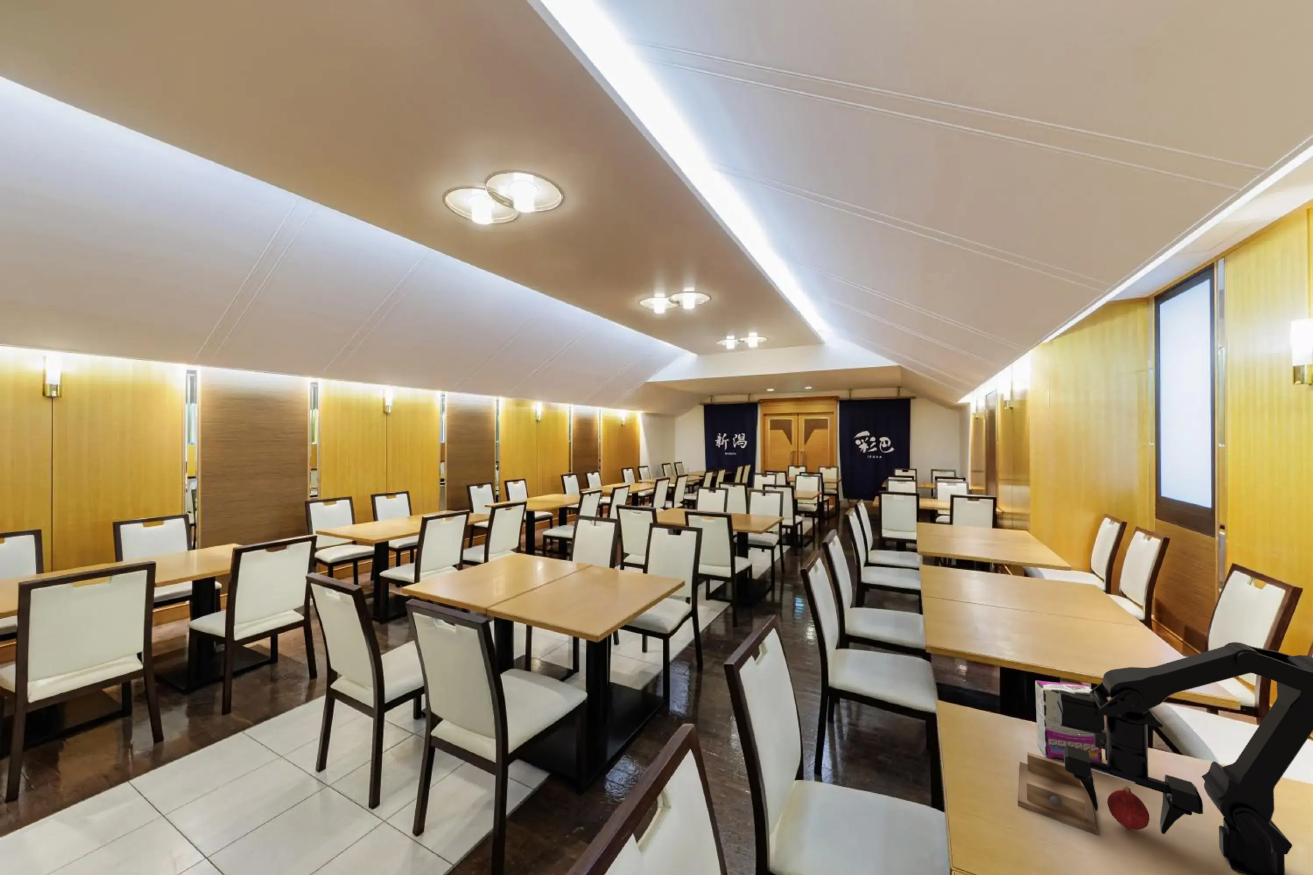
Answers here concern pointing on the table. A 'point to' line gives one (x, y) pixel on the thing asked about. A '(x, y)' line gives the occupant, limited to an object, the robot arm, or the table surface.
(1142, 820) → the onion
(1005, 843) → the table surface
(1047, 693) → the candy bar box
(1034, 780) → the cup
